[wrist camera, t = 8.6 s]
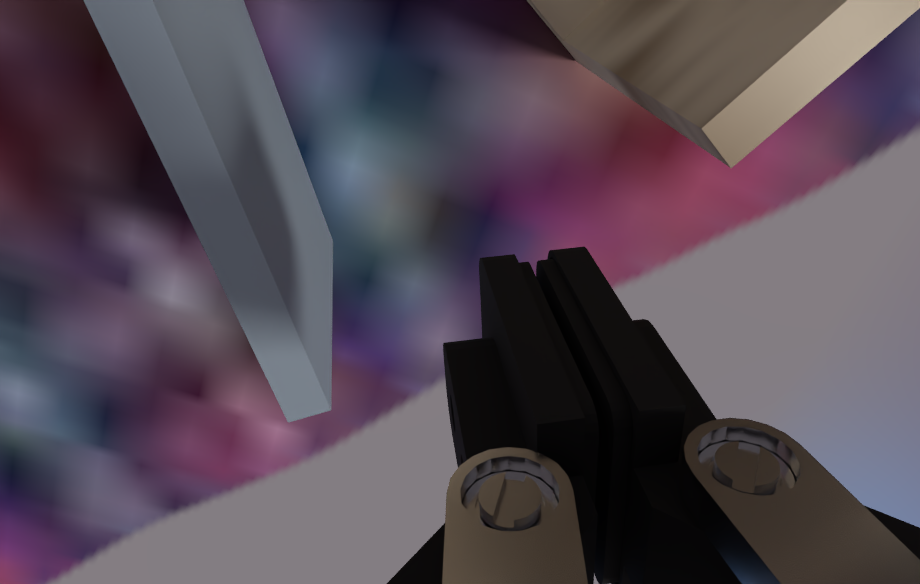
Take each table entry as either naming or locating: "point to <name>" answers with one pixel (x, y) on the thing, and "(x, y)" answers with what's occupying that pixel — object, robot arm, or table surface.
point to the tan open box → (721, 57)
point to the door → (235, 177)
